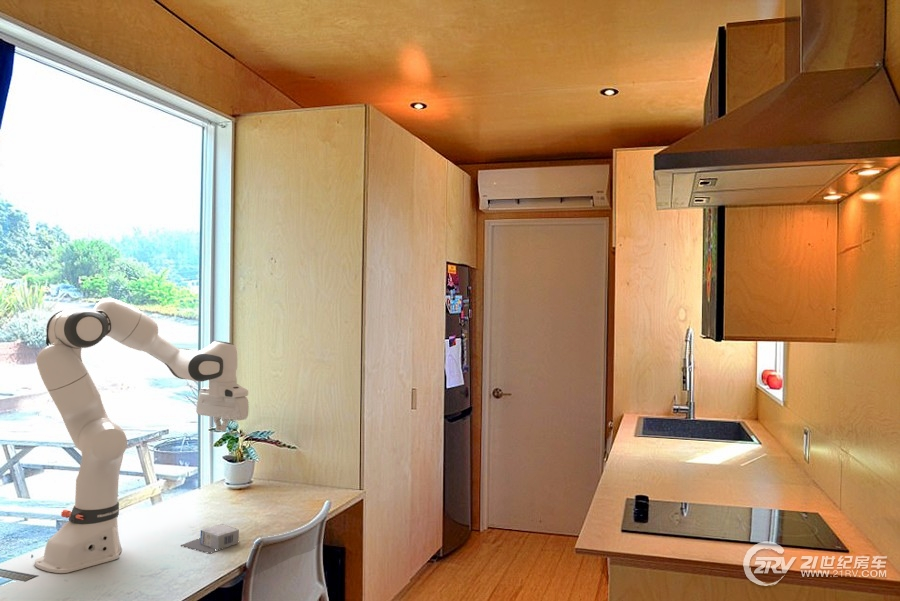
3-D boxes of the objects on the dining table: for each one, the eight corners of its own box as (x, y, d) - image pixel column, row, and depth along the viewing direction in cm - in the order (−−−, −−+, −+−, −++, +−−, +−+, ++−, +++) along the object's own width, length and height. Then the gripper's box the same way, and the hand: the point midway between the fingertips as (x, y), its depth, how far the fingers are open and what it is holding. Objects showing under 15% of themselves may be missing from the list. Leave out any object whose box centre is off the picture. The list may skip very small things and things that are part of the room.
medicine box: (239, 543, 212) (221, 537, 217) (239, 528, 212) (221, 523, 217) (217, 550, 206) (199, 544, 211) (218, 535, 206) (200, 529, 211)
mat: (209, 553, 204) (209, 552, 204) (180, 546, 209) (180, 545, 209) (239, 541, 214) (239, 540, 214) (210, 534, 220) (210, 533, 220)
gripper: (192, 387, 232) (191, 428, 232) (238, 393, 223) (237, 435, 223) (206, 385, 238) (205, 425, 238) (252, 391, 229) (250, 432, 229)
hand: (221, 430), depth 231 cm, fingers closed
